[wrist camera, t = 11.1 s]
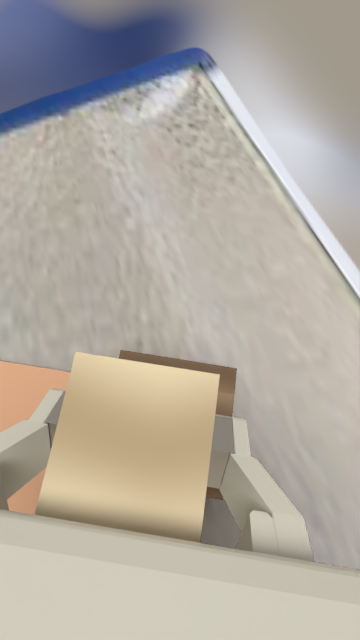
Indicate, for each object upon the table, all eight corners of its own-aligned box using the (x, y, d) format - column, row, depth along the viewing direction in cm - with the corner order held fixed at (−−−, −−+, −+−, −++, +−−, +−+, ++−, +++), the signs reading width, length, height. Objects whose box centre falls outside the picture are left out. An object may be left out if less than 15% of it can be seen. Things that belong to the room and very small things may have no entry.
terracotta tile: (53, 526, 29) (49, 530, 28) (-93, 501, 29) (-102, 504, 28) (89, 376, 33) (87, 375, 32) (-40, 355, 33) (-46, 353, 32)
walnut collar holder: (218, 491, 30) (223, 499, 27) (101, 471, 30) (93, 477, 27) (231, 372, 33) (236, 368, 30) (125, 355, 34) (120, 349, 31)
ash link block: (187, 477, 15) (202, 546, 7) (103, 463, 15) (31, 517, 7) (198, 391, 16) (221, 373, 8) (120, 379, 16) (74, 349, 9)
